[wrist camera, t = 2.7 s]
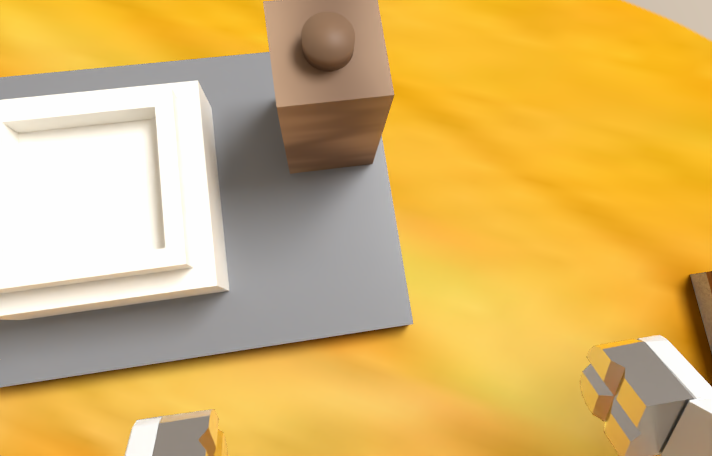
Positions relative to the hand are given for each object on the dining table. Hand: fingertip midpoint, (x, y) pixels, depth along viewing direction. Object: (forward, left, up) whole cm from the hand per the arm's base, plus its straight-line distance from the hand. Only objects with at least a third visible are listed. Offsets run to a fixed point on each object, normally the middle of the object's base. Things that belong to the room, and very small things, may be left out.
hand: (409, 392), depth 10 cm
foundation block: (-11, +9, -15) cm, 21 cm away
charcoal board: (-7, +9, -15) cm, 19 cm away
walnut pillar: (0, +12, -14) cm, 19 cm away
